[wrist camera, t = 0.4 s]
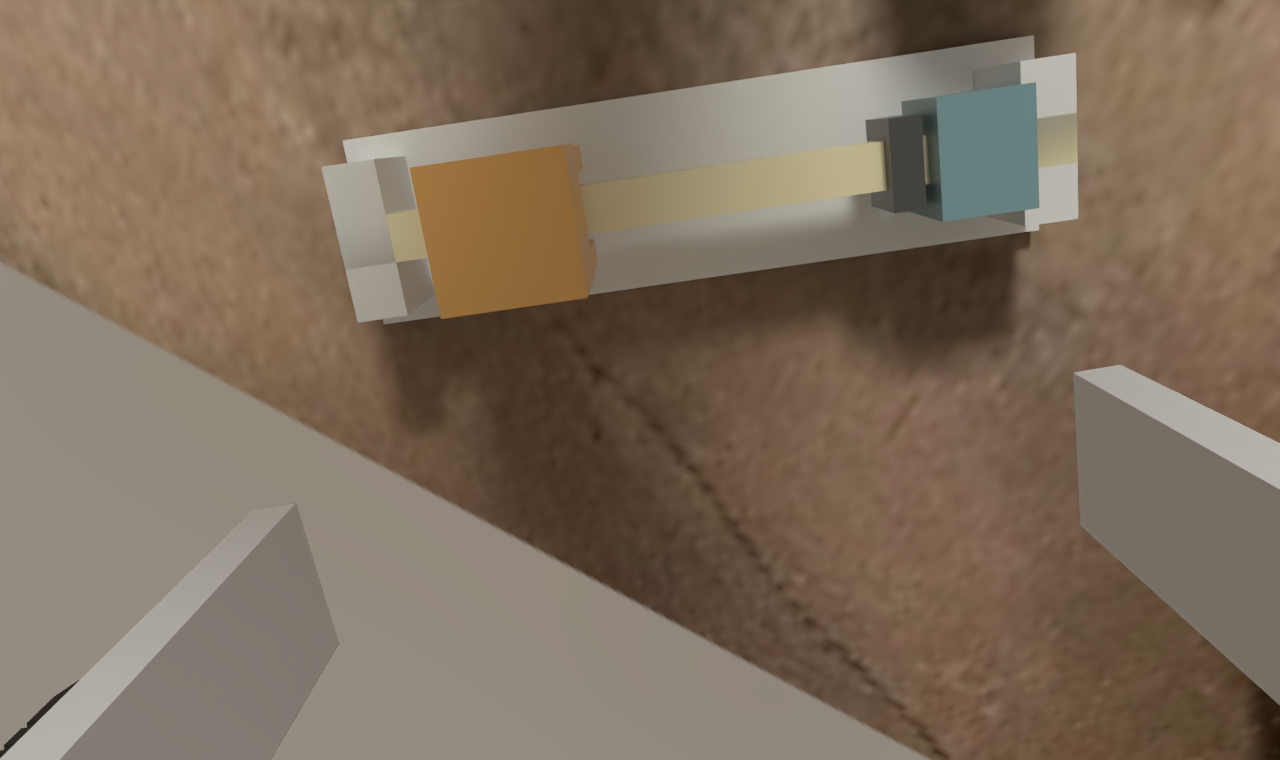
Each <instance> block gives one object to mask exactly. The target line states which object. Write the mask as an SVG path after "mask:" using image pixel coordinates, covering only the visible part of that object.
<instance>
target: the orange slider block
mask: <svg viewBox="0 0 1280 760" xmlns="http://www.w3.org/2000/svg"><path fill="white" fill-rule="evenodd" d="M409 169H410V174H411V179H412V183H413V188H414V193H415V198H416V202H417V207H418V212H419V217H420V222H421V226H422V231H423V236H424V241H425V246H426V250H427V255H428V260H429V265H430V270H431V274H432V279H433V284H434V289H435V294H436V298H437V303H438V308H439V313H440V318H441V319H445V318H452V317H459V316H466V315H473V314H480V313H487V312H494V311H501V310H508V309H515V308H522V307H529V306H536V305H543V304H550V303H557V302H564V301H571V300H577V299H584V298H588V296H589V293H590V290H591V287H592V284H593V280H594V273H595V270H596V267H597V264H598V259H597V253H596V247H595V240H594V239H588V233H587V226H586V220H585V214H584V208H583V201H582V195H581V189H580V183H579V176H578V173H579V172H581V171H583V164H582V158H581V152H580V146H579V145H573V143H570V144H564V145H557V146H550V147H544V148H537V149H531V150H524V151H517V152H511V153H504V154H497V155H491V156H484V157H477V158H471V159H464V160H458V161H451V162H444V163H438V164H431V165H424V166H418V167H411V168H409Z"/></svg>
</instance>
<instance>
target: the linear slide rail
mask: <svg viewBox="0 0 1280 760" xmlns="http://www.w3.org/2000/svg"><path fill="white" fill-rule="evenodd" d="M570 143H573V145H579V146H580V152H581V158H582V164H583V171H581V172H579V173H578V176H579V183H580V189H581V195H582V201H583V208H584V214H585V220H586V226H587V233H588V239H594V240H595V247H596V253H597V259H598V264H597V267H596V270H595V273H594V280H593V284H592V287H591V290H590V293H589V295H592V294H599V293H606V292H613V291H620V290H627V289H634V288H640V287H647V286H654V285H661V284H668V283H675V282H682V281H689V280H696V279H703V278H710V277H717V276H724V275H731V274H738V273H745V272H752V271H758V270H765V269H772V268H779V267H786V266H793V265H800V264H807V263H814V262H821V261H828V260H835V259H842V258H849V257H856V256H863V255H870V254H877V253H883V252H890V251H897V250H904V249H911V248H918V247H925V246H932V245H939V244H946V243H953V242H960V241H967V240H974V239H981V238H988V237H995V236H1002V235H1008V234H1015V233H1022V232H1029V231H1036V230H1039V224H1045V223H1052V222H1059V221H1066V220H1073V219H1078V165H1077V97H1076V53H1071V54H1064V55H1058V56H1051V57H1044V58H1038V59H1035V55H1034V35H1032V36H1025V37H1018V38H1012V39H1005V40H999V41H992V42H986V43H979V44H973V45H966V46H959V47H953V48H946V49H940V50H933V51H927V52H920V53H914V54H907V55H900V56H894V57H887V58H881V59H874V60H868V61H861V62H855V63H848V64H841V65H835V66H828V67H822V68H815V69H809V70H802V71H796V72H789V73H782V74H776V75H769V76H763V77H756V78H750V79H743V80H737V81H730V82H723V83H717V84H710V85H704V86H697V87H691V88H684V89H678V90H671V91H664V92H658V93H651V94H645V95H638V96H632V97H625V98H619V99H612V100H605V101H599V102H592V103H586V104H579V105H573V106H566V107H560V108H553V109H546V110H540V111H533V112H527V113H520V114H514V115H507V116H501V117H494V118H487V119H481V120H474V121H468V122H461V123H455V124H448V125H442V126H435V127H428V128H422V129H415V130H409V131H402V132H396V133H389V134H383V135H376V136H369V137H363V138H356V139H350V140H343V145H344V149H345V154H346V158H347V163H345V164H338V165H332V166H325V167H321V168H322V172H323V176H324V180H325V185H326V189H327V193H328V198H329V202H330V206H331V210H332V215H333V219H334V223H335V227H336V232H337V236H338V240H339V245H340V249H341V253H342V257H343V262H344V266H345V270H346V275H347V279H348V283H349V287H350V292H351V296H352V300H353V304H354V309H355V313H356V317H357V322H358V323H359V322H366V321H373V320H380V319H383V322H384V324H391V323H397V322H404V321H411V320H418V319H425V318H432V317H439V316H440V313H439V308H438V303H437V298H436V294H435V289H434V284H433V279H432V274H431V270H430V265H429V260H428V255H427V250H426V246H425V241H424V236H423V231H422V226H421V222H420V217H419V212H418V207H417V202H416V198H415V193H414V188H413V183H412V179H411V174H410V169H409V168H411V167H418V166H424V165H431V164H438V163H444V162H451V161H458V160H464V159H471V158H477V157H484V156H491V155H497V154H504V153H511V152H517V151H524V150H531V149H537V148H544V147H550V146H557V145H564V144H570Z"/></svg>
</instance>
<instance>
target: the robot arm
mask: <svg viewBox="0 0 1280 760" xmlns="http://www.w3.org/2000/svg"><path fill="white" fill-rule="evenodd" d="M1073 378H1074V399H1075V419H1076V440H1077V461H1078V482H1079V502H1080V523H1081V526H1082V527H1083V528H1084V529H1085V530H1086V531H1087V532H1088V533H1089V534H1090V535H1092V536H1093V537H1094V538H1095V539H1096V540H1097V541H1098V542H1099V543H1100V544H1102V545H1103V546H1104V547H1105V548H1106V549H1107V550H1108V551H1109V552H1110V553H1112V554H1113V555H1114V556H1115V557H1116V558H1117V559H1118V560H1119V561H1120V562H1121V563H1123V564H1124V565H1125V566H1126V567H1127V568H1128V569H1129V570H1130V571H1131V572H1133V573H1134V574H1135V575H1136V576H1137V577H1138V578H1139V579H1140V580H1141V581H1143V582H1144V583H1145V584H1146V585H1147V586H1148V587H1149V588H1150V589H1151V590H1152V591H1154V592H1155V593H1156V594H1157V595H1158V596H1159V597H1160V598H1161V599H1162V600H1164V601H1165V602H1166V603H1167V604H1168V605H1169V606H1170V607H1171V608H1172V609H1174V610H1175V611H1176V612H1177V613H1178V614H1179V615H1180V616H1181V617H1182V618H1183V619H1185V620H1186V621H1187V622H1188V623H1189V624H1190V625H1191V626H1192V627H1193V628H1195V629H1196V630H1197V631H1198V632H1199V633H1200V634H1201V635H1202V636H1203V637H1205V638H1206V639H1207V640H1208V641H1209V642H1210V643H1211V644H1212V645H1213V646H1214V647H1216V648H1217V649H1218V650H1219V651H1220V652H1221V653H1222V654H1223V655H1224V656H1226V657H1227V658H1228V659H1229V660H1230V661H1231V662H1232V663H1233V664H1234V665H1236V666H1237V667H1238V668H1239V669H1240V670H1241V671H1242V672H1243V673H1244V674H1246V675H1247V676H1248V677H1249V678H1250V679H1251V680H1252V681H1253V682H1254V683H1255V684H1257V685H1258V686H1259V687H1260V688H1261V689H1262V690H1263V691H1264V692H1265V693H1267V694H1268V695H1269V696H1270V697H1271V698H1272V699H1273V700H1274V701H1275V702H1277V703H1278V704H1279V705H1280V443H1278V442H1276V441H1274V440H1272V439H1270V438H1268V437H1266V436H1264V435H1262V434H1260V433H1258V432H1256V431H1254V430H1252V429H1250V428H1248V427H1246V426H1244V425H1242V424H1240V423H1238V422H1236V421H1234V420H1232V419H1230V418H1228V417H1226V416H1224V415H1222V414H1219V413H1217V412H1215V411H1213V410H1211V409H1209V408H1207V407H1205V406H1203V405H1201V404H1199V403H1197V402H1195V401H1193V400H1191V399H1189V398H1187V397H1185V396H1183V395H1181V394H1179V393H1177V392H1175V391H1173V390H1171V389H1169V388H1167V387H1165V386H1163V385H1161V384H1159V383H1157V382H1155V381H1153V380H1150V379H1148V378H1146V377H1144V376H1142V375H1140V374H1138V373H1136V372H1134V371H1132V370H1130V369H1128V368H1126V367H1124V366H1122V365H1117V366H1111V367H1105V368H1099V369H1093V370H1087V371H1081V372H1075V373H1073ZM338 644H339V642H338V639H337V636H336V633H335V629H334V626H333V623H332V620H331V616H330V613H329V609H328V606H327V603H326V600H325V596H324V593H323V590H322V586H321V583H320V580H319V577H318V573H317V570H316V567H315V564H314V560H313V557H312V554H311V550H310V547H309V544H308V541H307V538H306V534H305V531H304V527H303V524H302V521H301V518H300V514H299V511H298V508H297V505H296V503H292V504H286V505H280V506H274V507H269V508H262V509H256V510H252V511H251V512H250V513H249V514H248V515H247V516H246V517H245V518H244V519H243V520H242V521H241V522H240V523H239V524H238V525H237V526H236V527H235V528H234V529H233V530H232V531H231V532H230V533H229V534H228V535H227V536H226V537H225V538H224V539H223V540H222V541H221V542H220V543H219V544H218V545H217V546H216V547H215V548H214V549H213V550H212V551H211V552H210V553H209V554H207V555H206V556H205V558H203V560H202V561H201V562H199V563H198V564H197V565H196V566H195V567H194V568H193V569H192V570H191V571H190V572H189V573H188V574H187V575H186V576H185V577H184V578H183V579H182V580H181V581H180V582H179V583H178V584H177V585H176V586H175V587H174V588H173V589H172V590H171V591H170V592H169V593H168V594H167V595H166V596H165V597H164V598H163V599H162V600H161V601H160V602H159V603H158V604H157V605H156V606H155V607H154V608H153V609H152V610H151V611H149V613H147V614H146V615H145V616H144V617H143V618H142V619H141V621H139V622H138V623H137V624H136V625H135V626H134V627H133V628H132V629H131V630H130V631H129V632H128V633H127V634H126V635H125V636H124V637H123V638H122V639H121V640H120V641H119V642H118V643H117V644H116V645H115V646H114V647H113V648H112V649H111V650H110V651H109V652H108V653H107V654H106V655H105V656H104V657H103V658H102V659H101V660H100V661H99V662H98V663H97V664H96V665H95V666H94V667H93V668H92V669H91V670H90V671H88V673H87V674H85V676H83V677H82V678H81V679H80V680H79V681H77V682H75V683H74V684H73V685H71V686H70V687H68V688H67V689H65V690H63V691H62V692H61V693H59V694H57V695H56V696H54V697H53V698H52V699H51V700H50V701H49V702H48V703H47V704H46V705H45V706H44V707H43V708H42V709H41V710H40V711H39V712H38V713H37V714H36V715H35V716H34V717H33V718H32V719H31V720H30V721H29V722H28V723H27V728H21V729H20V730H19V731H18V732H17V733H16V734H15V735H14V736H13V737H12V738H11V739H10V740H9V741H8V742H7V743H6V744H5V745H4V750H2V751H0V760H271V759H272V757H273V755H274V753H275V752H276V750H277V748H278V747H279V745H280V743H281V742H282V740H283V738H284V736H285V735H286V733H287V731H288V730H289V728H290V726H291V724H292V723H293V721H294V719H295V718H296V716H297V714H298V712H299V711H300V709H301V707H302V706H303V704H304V702H305V701H306V699H307V697H308V695H309V694H310V692H311V690H312V688H313V687H314V685H315V684H316V682H317V680H318V678H319V676H320V675H321V673H322V671H323V670H324V668H325V666H326V665H327V663H328V661H329V660H330V658H331V656H332V654H333V653H334V651H335V649H336V648H337V646H338Z"/></svg>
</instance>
